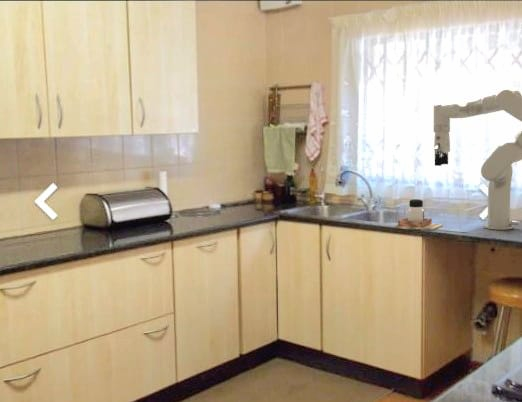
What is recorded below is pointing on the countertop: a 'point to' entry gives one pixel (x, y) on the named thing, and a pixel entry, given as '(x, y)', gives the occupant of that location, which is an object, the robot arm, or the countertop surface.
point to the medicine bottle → (416, 210)
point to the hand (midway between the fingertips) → (441, 164)
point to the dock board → (418, 224)
